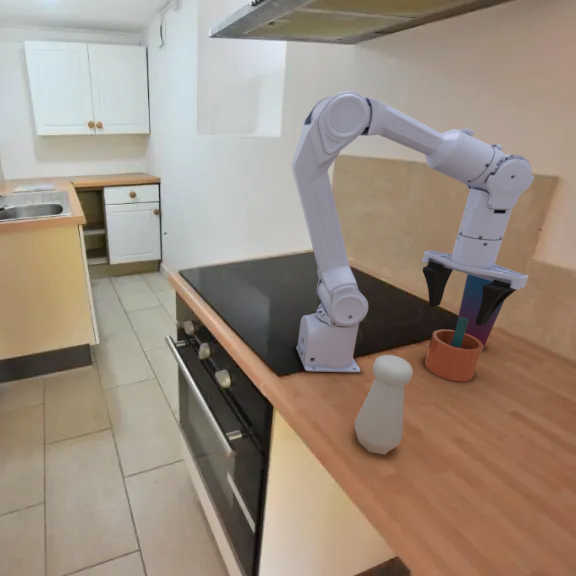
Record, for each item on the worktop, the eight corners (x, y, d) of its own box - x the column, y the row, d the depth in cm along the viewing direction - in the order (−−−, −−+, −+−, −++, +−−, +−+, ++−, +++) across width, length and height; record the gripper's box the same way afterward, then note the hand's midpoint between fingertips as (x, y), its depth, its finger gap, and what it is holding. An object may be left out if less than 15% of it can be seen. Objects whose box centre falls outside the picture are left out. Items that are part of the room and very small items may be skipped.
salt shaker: (375, 465, 48) (397, 379, 43) (342, 434, 52) (357, 354, 48) (408, 451, 50) (432, 368, 45) (373, 422, 55) (391, 344, 50)
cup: (476, 335, 78) (498, 266, 72) (497, 353, 71) (524, 279, 66) (441, 334, 78) (461, 265, 73) (459, 351, 72) (482, 278, 66)
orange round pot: (438, 380, 64) (448, 350, 61) (417, 357, 70) (424, 328, 68) (482, 381, 64) (493, 351, 61) (456, 358, 70) (465, 329, 68)
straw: (450, 369, 66) (465, 321, 62) (442, 365, 67) (456, 317, 64) (455, 367, 66) (471, 319, 63) (448, 363, 68) (462, 316, 64)
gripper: (550, 243, 54) (519, 327, 60) (447, 223, 66) (429, 294, 72) (525, 250, 51) (494, 337, 57) (422, 227, 63) (405, 301, 69)
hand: (456, 314), depth 64 cm, fingers open, 7 cm apart
